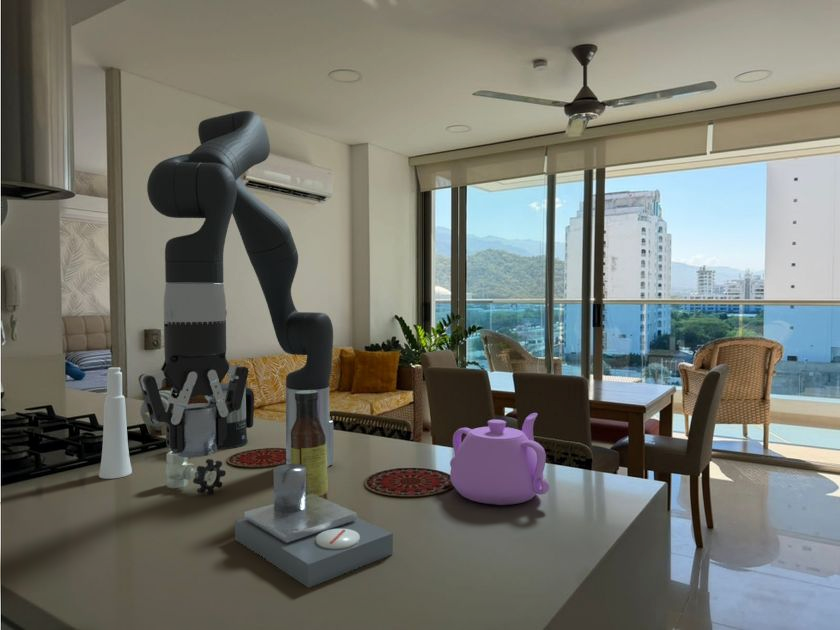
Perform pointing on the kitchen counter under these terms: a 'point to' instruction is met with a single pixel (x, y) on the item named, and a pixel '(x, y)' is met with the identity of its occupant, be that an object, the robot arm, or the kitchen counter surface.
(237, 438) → the milk frother
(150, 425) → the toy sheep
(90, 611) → the kitchen counter surface
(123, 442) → the cosmetic bottle
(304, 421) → the sauce bottle
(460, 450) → the teapot
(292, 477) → the cylinder
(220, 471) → the valve
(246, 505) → the kitchen counter surface
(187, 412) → the cylinder
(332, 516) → the pan
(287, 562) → the scale
